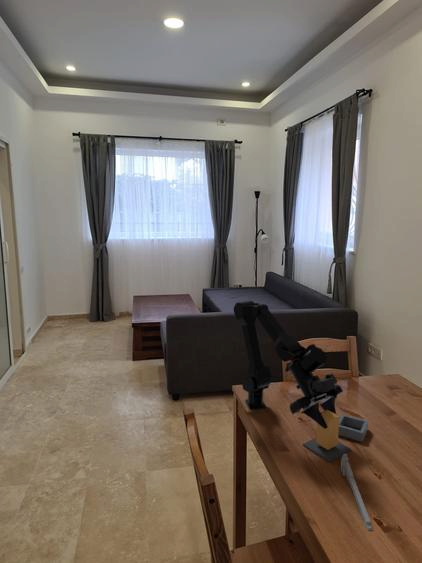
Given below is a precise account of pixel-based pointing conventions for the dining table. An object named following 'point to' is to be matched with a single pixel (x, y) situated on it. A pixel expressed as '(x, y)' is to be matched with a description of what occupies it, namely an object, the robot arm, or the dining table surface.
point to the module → (328, 430)
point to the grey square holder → (354, 423)
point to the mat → (327, 454)
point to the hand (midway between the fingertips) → (331, 425)
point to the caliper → (355, 490)
